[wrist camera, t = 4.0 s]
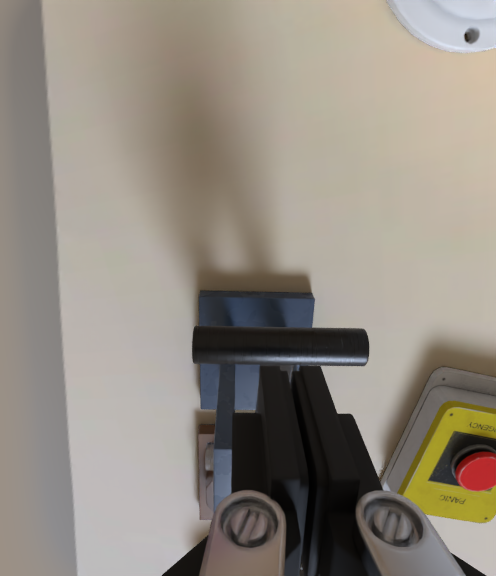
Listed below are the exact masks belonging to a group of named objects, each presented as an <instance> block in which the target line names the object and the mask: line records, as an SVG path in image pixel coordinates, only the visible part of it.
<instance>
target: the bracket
mask: <svg viewBox="0 0 496 576" xmlns="http://www.w3.org/2000/svg"><path fill="white" fill-rule="evenodd" d="M314 302H315V299H314V296H313V294H312V293H289V292H238V291H200V295H199V326H240V327H299V328H312V323H313V312H314ZM300 366H308V365H294V367H293V371H299V367H300ZM259 368H260V365H244V364H200V398H201V409H217V410H216V422H215V435H214V443H211V442H208V443H207V444H206V453H205V469H206V470H207V471H213V491H214V512H215V510H216V507H217V506H218V505H219V503H220V502H221V501H222V500H223V499H224V498H226V497H227V496H229V495H231V466H232V413H235V410H256V401H257V392H258V383H259ZM291 378H292V376H291ZM290 387H291V381H290Z"/></svg>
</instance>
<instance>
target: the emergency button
mask: <svg viewBox="0 0 496 576" xmlns="http://www.w3.org/2000/svg"><path fill="white" fill-rule="evenodd" d="M380 483H381V485H382V488H383V490H384V491H390V492H394V493H398V494H400V495H402V496H404V497H406V498H408V499H410V500H411V501H412V502H413V503H415V504H416V505H417V506H418V507H419V508H420V509H421V510H422V511H423V512H424V514H427V515H433V516H439V517H445V518H451V519H457V520H463V521H469V522H475V523H487V522H489V521H491V520H492V519H493V518H494V516H495V514H496V377H491V376H487V375H482V374H477V373H472V372H468V371H463V370H458V369H453V368H448V367H440V368H438V369H437V370H435V371H434V372H433V373H432V375H431V376H430V378H429V380H428V382H427V384H426V386H425V388H424V391H423V393H422V395H421V397H420V399H419V401H418V403H417V405H416V407H415V410H414V412H413V414H412V416H411V418H410V420H409V422H408V424H407V426H406V429H405V431H404V433H403V435H402V437H401V439H400V441H399V443H398V445H397V448H396V450H395V452H394V454H393V456H392V458H391V460H390V462H389V464H388V467H387V469H386V471H385V473H384V475H383V477H382V479H381V481H380Z"/></svg>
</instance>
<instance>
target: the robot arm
mask: <svg viewBox="0 0 496 576" xmlns="http://www.w3.org/2000/svg"><path fill="white" fill-rule="evenodd" d="M386 1H387V3H388V5H389V7H390V8H391V10H392V11H393V13H394V14H395V16H396V17H397V19H398V21H399V22H400V23H401V24H402V25H403V26H404V27H405V28H406V29H407V30H408V31H409V32H410V33H411V34H412V35H413V36H415V37H416V38H418V39H420V40H421V41H423V42H424V43H426V44H428V45H429V46H432V47H435V48H438V49H441V50H444V51H448V52H458V53H472V52H480V51H486V50H489V49H493V48H496V0H386ZM464 34H467V36H468V39H467V41H465V39H464ZM301 561H302V567H303V574H304V576H486V575H484V574H483V573H481V572H480V571H478V570H477V569H475V568H474V567H472V566H471V565H469V564H467V563H466V562H464V561H463V560H461V559H460V558H458V557H457V556H455V555H454V554H452V553H451V552H450V551H449V550H448V548H447V546H446V545H445V543H444V542H443V540H442V539H441V537H440V536H439V534H438V533H437V531H436V530H435V528H434V527H433V525H432V524H431V522H430V521H429V519H428V518H427V516H426V515H425V514H424V512H423V511H422V510H421V509H420V508H419V507H418V506H417V505H416V504H415V503H413V502H412V501H411V500H410V499H408V498H406V497H404V496H402V495H400V494H398V493H394V492H390V491H384V490H383V488H382V485H381V483H380V481H379V478H378V476H377V473H376V471H375V468H374V466H373V463H372V461H371V458H370V456H369V453H368V451H367V449H366V446H365V444H364V441H363V439H362V436H361V434H360V431H359V429H358V426H357V424H356V422H355V419H354V417H353V415H351V414H337V412H336V409H335V406H334V403H333V400H332V398H331V395H330V392H329V389H328V386H327V383H326V381H325V378H324V375H323V372H322V369H321V367H320V366H300V367H299V371H292V378H291V387H290V382H289V377H288V372H287V371H281V370H280V366H279V365H260V368H259V387H258V410H257V413H232V466H231V495H229V496H227V497H226V498H224V499H223V500H222V501H221V502H220V503H219V505H218V506H217V507H216V510H215V512H214V515H213V518H212V522H211V527H210V531H209V535H208V536H207V537H205V538H204V539H203V540H202V541H201V542H200V543H199V544H197V545H196V546H195V547H194V548H193V549H192V550H190V551H189V552H188V553H187V554H186V555H185V556H184V557H182V558H181V559H180V560H179V561H178V562H177V563H176V564H174V565H173V566H172V567H171V568H170V569H169V570H167V571H166V572H165V573H164V574H163V575H162V576H299V574H300V565H301Z"/></svg>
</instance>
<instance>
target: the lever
mask: <svg viewBox="0 0 496 576" xmlns="http://www.w3.org/2000/svg"><path fill="white" fill-rule="evenodd" d="M368 357H369V340H368V336H367V333H366V331H365V330H364V329H359V328H299V327H240V326H195V327H194V331H193V341H192V358H193V363H194V364H244V365H279V366H280V370H281V371H287V372H288V377H289V382H290V381H291V376H292V371H293V367H294V365H315V366H365V365H366V364H367V361H368ZM258 387H259V383H258ZM257 410H258V392H257V401H256V411H255V413H257Z"/></svg>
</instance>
